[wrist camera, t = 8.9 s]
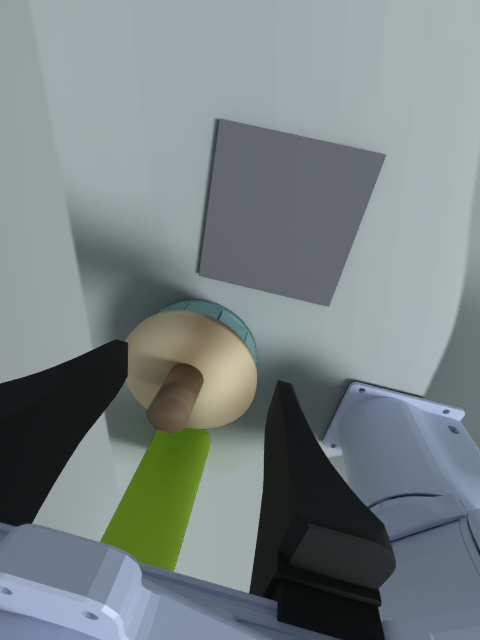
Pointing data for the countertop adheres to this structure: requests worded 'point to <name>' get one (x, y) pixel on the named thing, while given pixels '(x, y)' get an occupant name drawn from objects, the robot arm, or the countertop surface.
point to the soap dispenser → (160, 498)
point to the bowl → (218, 318)
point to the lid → (189, 371)
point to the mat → (284, 210)
